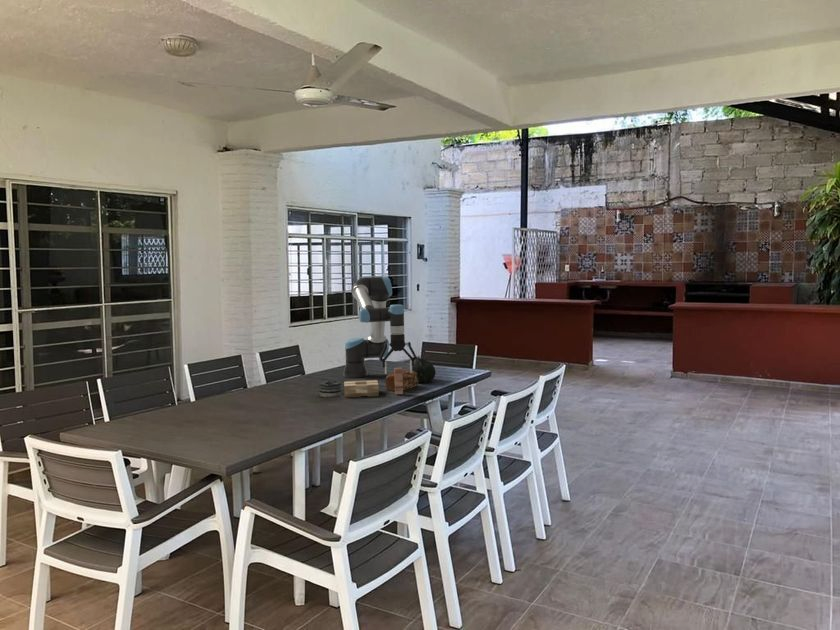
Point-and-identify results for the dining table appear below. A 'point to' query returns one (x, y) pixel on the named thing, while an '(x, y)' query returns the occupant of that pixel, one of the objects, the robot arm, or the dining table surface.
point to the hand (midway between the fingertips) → (398, 373)
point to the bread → (408, 380)
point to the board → (361, 388)
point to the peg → (398, 380)
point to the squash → (424, 370)
